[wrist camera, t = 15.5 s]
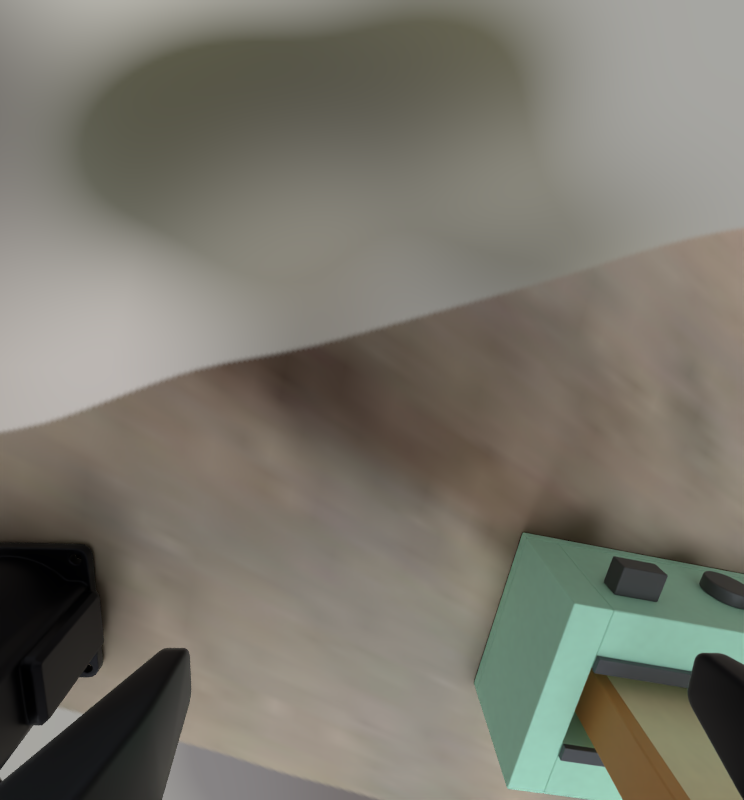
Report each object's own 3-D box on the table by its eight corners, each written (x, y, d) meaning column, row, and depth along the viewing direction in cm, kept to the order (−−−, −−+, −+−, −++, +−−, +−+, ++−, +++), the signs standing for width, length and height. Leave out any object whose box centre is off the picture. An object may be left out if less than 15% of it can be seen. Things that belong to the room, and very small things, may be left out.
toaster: (473, 683, 23) (508, 794, 18) (530, 507, 21) (588, 577, 16) (693, 717, 24) (786, 831, 19) (767, 554, 22) (893, 632, 17)
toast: (537, 643, 22) (704, 954, 11) (550, 606, 21) (736, 895, 11) (683, 667, 22) (963, 980, 12) (698, 632, 22) (1002, 925, 12)
